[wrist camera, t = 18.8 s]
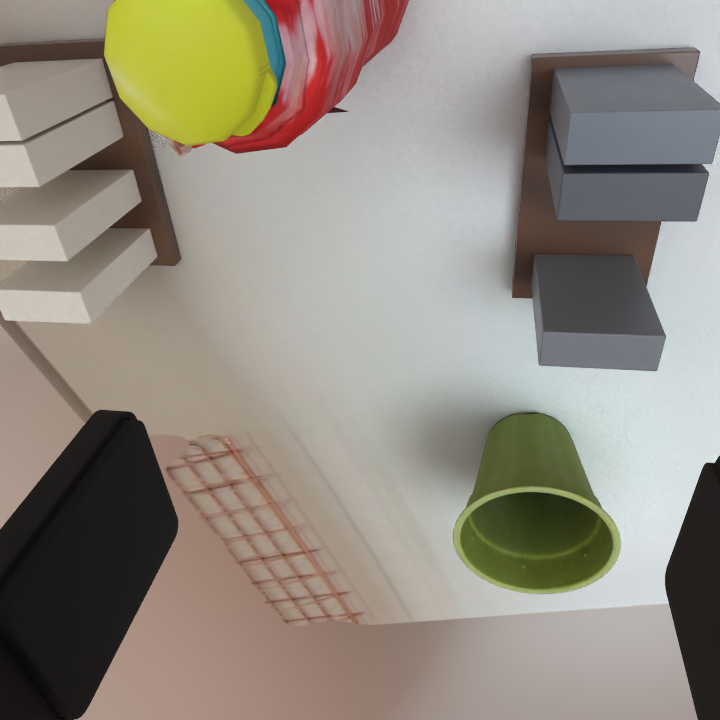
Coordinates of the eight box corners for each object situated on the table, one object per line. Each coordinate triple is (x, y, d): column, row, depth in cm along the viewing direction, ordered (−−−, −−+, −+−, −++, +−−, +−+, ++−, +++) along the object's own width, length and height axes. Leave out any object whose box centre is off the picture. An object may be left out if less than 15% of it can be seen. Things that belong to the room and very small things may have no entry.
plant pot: (622, 407, 50) (650, 515, 41) (569, 500, 57) (582, 609, 48) (481, 373, 51) (478, 471, 42) (445, 469, 58) (436, 571, 49)
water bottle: (338, 130, 41) (192, 333, 21) (237, 52, 39) (-27, 193, 20) (455, -45, 34) (400, 13, 15) (339, -149, 33) (95, -246, 13)
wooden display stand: (3, 43, 42) (-130, 78, 33) (124, 37, 40) (18, 72, 31) (81, 257, 51) (-7, 330, 42) (181, 259, 49) (112, 335, 41)
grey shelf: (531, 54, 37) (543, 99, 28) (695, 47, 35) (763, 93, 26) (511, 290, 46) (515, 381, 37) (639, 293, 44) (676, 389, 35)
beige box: (53, 169, 45) (-42, 224, 37) (133, 169, 44) (53, 225, 36) (64, 201, 47) (-25, 260, 39) (142, 201, 46) (67, 262, 38)
